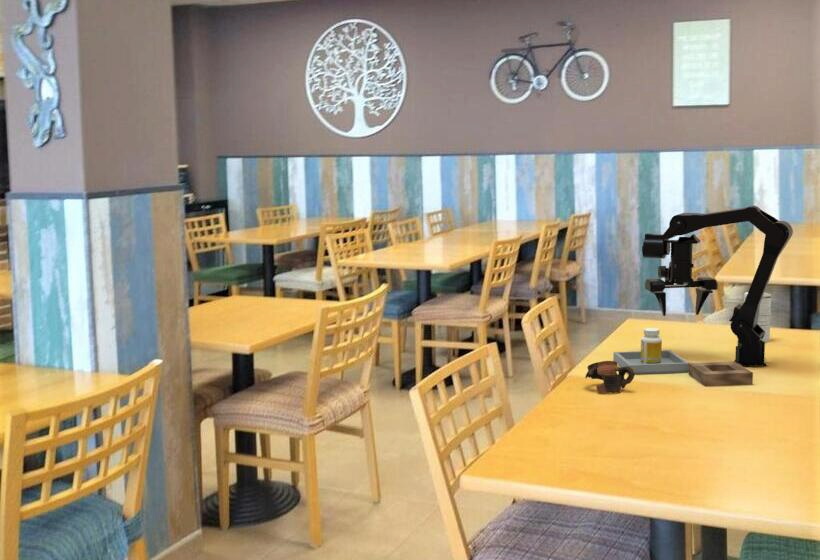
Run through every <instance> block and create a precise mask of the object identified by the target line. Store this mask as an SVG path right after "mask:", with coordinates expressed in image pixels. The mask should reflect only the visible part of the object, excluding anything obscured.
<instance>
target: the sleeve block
mask: <svg viewBox="0 0 820 560" xmlns="http://www.w3.org/2000/svg"><path fill="white" fill-rule="evenodd" d="M688 376H690V377H691V378H693V379H694V380H696V382H698V383H700V384H701V385H702V386H704V387H721V386H743V385H744V386H749V385H754V384H753V379H754V372H752V371H751V370H749V368H746V367H745V366H742V365H740V364H739V363H737V362H735V361H718V362H717V361H715V362H714V361H711V362H689V373H688Z"/></svg>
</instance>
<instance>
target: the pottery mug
mask: <svg viewBox="0 0 820 560" xmlns="http://www.w3.org/2000/svg"><path fill="white" fill-rule="evenodd" d="M627 372H628V373H629V374H628V373H627ZM626 374H628V375H627V377H626V379H625V375H626ZM588 378H589V379H591V380H592V379H593V380H601V381H603V382H602V383H600V384H596V390H597V394H599V395H600V394H606V393H612V394H615V393H618V394H621V392H622V391H621V388H622V389H625V387H626V386H627V385H629V384H631V383H632V382H633V381H634V378H635V373H634V372H633V369H632V368H631V367H628V366H625V367H620V366H618V365H617V362H615V361H613V360H602V361H598V362H594V363H591V364H588V366H587V372H586V374H585V379H588Z"/></svg>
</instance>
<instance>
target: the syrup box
mask: <svg viewBox="0 0 820 560" xmlns="http://www.w3.org/2000/svg"><path fill="white" fill-rule="evenodd" d="M748 292H749V291H747V292H744V293H743V303H744V302H745V299H746V297H747V294H748ZM771 311H772V294H771V293H767V292H765V293H764V295H763V298H762V300H761V303H760V308H759V317H758V322H757V324H758V325H759V326H760V327H761V328H762V329H763V330H764V331H765V335H764V337H763V339H762V341H764V342H765V343H769V342H770V340H771V339H770V336H771Z"/></svg>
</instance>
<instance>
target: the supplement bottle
mask: <svg viewBox="0 0 820 560" xmlns="http://www.w3.org/2000/svg"><path fill="white" fill-rule="evenodd" d="M643 334H644V336H642V337H641V338H640V351H641V364H658V363H661V350H663V349H662V348H663V347H662V346H663V345H662V343H663V342H662V341H663V340H662V338H661V337H660V336H659V335H660V329H659V328H657V327H647V328H644V329H643Z"/></svg>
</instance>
